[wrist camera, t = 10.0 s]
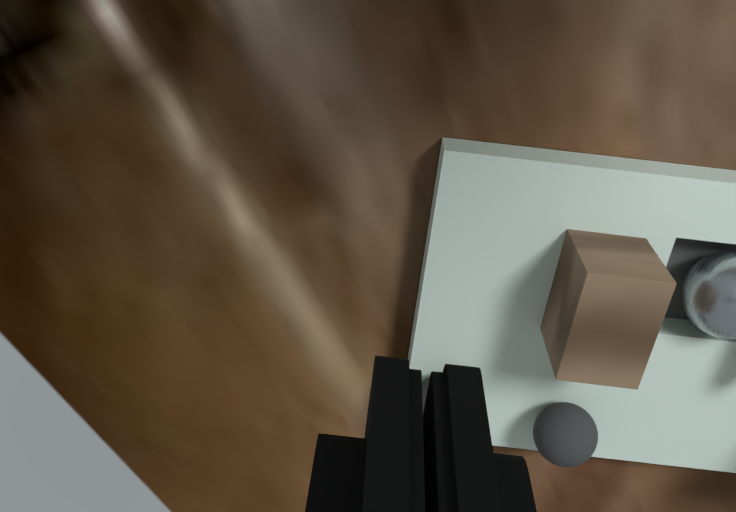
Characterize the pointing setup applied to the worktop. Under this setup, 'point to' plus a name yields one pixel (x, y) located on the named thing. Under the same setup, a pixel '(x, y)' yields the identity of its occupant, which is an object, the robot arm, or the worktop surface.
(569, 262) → the block
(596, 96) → the worktop surface
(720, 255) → the steel ball
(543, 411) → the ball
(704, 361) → the board
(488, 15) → the worktop surface
